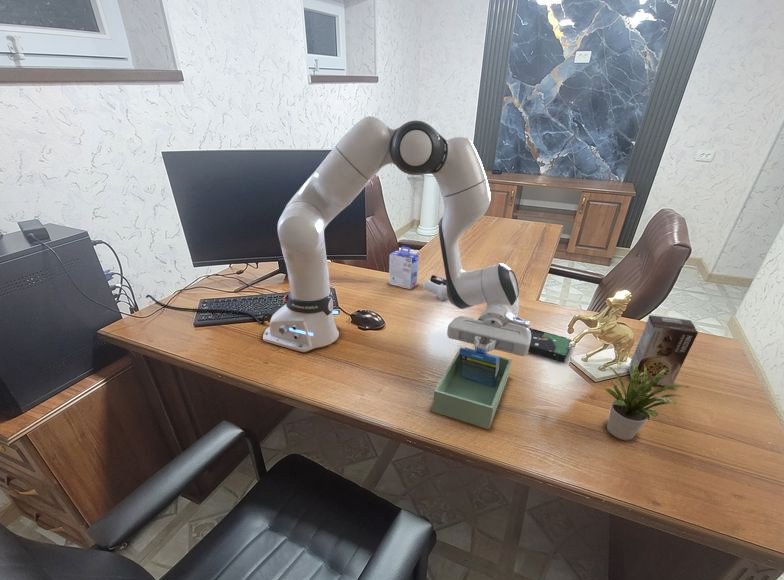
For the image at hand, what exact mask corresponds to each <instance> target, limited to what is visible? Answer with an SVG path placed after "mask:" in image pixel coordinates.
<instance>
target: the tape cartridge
mask: <svg viewBox="0 0 784 580" xmlns="http://www.w3.org/2000/svg"><path fill="white" fill-rule="evenodd" d="M462 348H464V349H462ZM462 348H460V347H459V349H460V372H461V377H462V378H465V379H469V380H472V381H475V382H478V383H481V384H485V385H488V386H491V387H494V386H495V384H496V381H497V378H498V373H499V362H500V357H501V356H499V355H496V354H492V353H489V352H487V354H483V353H478V352H474V350H475V349H472V348H469V347H462Z"/></svg>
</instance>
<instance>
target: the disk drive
mask: <svg viewBox="0 0 784 580" xmlns="http://www.w3.org/2000/svg"><path fill="white" fill-rule="evenodd" d="M529 330H530V331H531V342H530V346H529V350H528V354H532V355H535V356H538V357H541V358H545V359H549V360H552V361H555V362H558V363H563V364H564V363H565V362H566V359H567V358H568V356H569V353H570V351H571V348H572V347H569V343H570V342H571V341H572V339H571V338H567V337H565V336H562V335H558V334H553V333H550V332H547V331H542V330H539V329H535V328H532V327H530V329H529Z"/></svg>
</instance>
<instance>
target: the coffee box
mask: <svg viewBox="0 0 784 580" xmlns="http://www.w3.org/2000/svg"><path fill="white" fill-rule="evenodd" d="M698 334H699V332H698V330H697V328H696V326H695V325H694V322H692V320H690V319H683V318H675V317H667V316H660V315H653V314H652V315H651V314H650V315H649V316H648V318H647V321H646V323H645V326H644V328H643V331H642V333H641V336H640V337H639V340H638V341H637V342H638V343H637V344H636V347H635V349H634V353H633V355H632V357H631V360H630V362H629V364H628V367H627V368H628V372H629V375H630V378H631V377H632V371H633V365H634V362H636V364H637V366H638V370H639V373H640V374H641V372H642V373H643V372H644V363H645V366H646V369H647V374H648V377H647V382H649V381H650V382H651V381H652V380H653V379H654V377H655V376H656V375H657V374H658V373H659V372H661V371H662V370H664V369H665V368H666V371H665V372H664V374H663V376H662V378H661V380H660V381H659V382H658V383H657V384H656V385H655V386H661V387H664V386H668V385H674V383H675V380H676V379H677V376H678V375H679V372H680V371H681V369H682V366H683V364H684V363H685V360H686V358H687V356H688V355H689V352H690V350H691V348H692V346H693V345H694V342H695V341H696V339H697V336H698ZM629 365H630V366H629ZM640 370H641V371H640ZM642 376H643V377H644V374H642ZM642 376H640V379H639V383H641V379H642Z"/></svg>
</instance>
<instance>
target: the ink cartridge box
mask: <svg viewBox="0 0 784 580" xmlns="http://www.w3.org/2000/svg"><path fill="white" fill-rule="evenodd" d="M404 249H405V250H404ZM410 251H411V247H410V246H405V245H401V248H400V250H395V251H392V252H391V253H389V264H388V266H389V269H388V285H392V286H395V287H400V288H403V289H408V290H412V289H414V288H415V287H417V285H418V273H419V272H418V271H419V254H417V253H413V252H412V253H411V252H410Z"/></svg>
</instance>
